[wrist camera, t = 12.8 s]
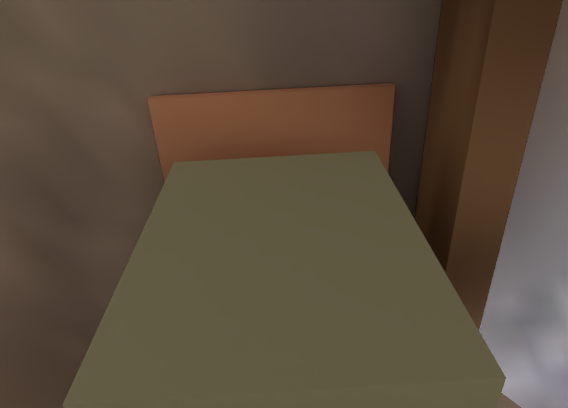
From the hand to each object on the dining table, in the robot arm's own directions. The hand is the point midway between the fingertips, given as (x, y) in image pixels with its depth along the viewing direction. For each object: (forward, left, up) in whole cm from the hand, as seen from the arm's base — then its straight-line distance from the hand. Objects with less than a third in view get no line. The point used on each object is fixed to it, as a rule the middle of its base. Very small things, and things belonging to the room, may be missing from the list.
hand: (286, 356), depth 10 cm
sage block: (0, 0, -2) cm, 2 cm away
